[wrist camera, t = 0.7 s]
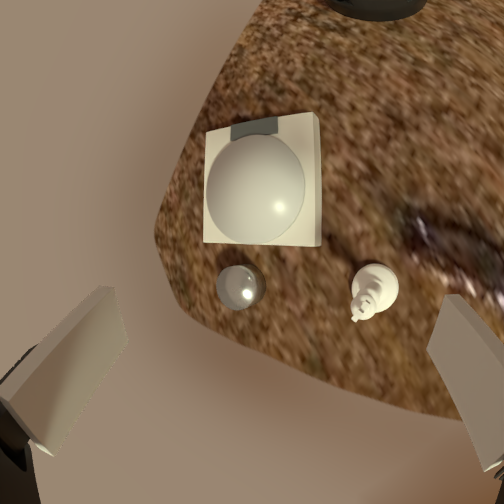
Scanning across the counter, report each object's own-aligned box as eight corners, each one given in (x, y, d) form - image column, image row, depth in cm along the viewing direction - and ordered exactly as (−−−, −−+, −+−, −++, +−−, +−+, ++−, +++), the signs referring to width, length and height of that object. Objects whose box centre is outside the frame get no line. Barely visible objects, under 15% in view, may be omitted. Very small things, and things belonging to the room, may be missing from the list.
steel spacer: (231, 262, 36) (216, 264, 33) (266, 265, 33) (253, 268, 31) (231, 301, 36) (216, 306, 33) (266, 307, 33) (253, 313, 31)
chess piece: (342, 292, 29) (312, 318, 20) (370, 253, 27) (351, 263, 18) (378, 320, 27) (363, 360, 18) (407, 282, 25) (408, 307, 16)
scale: (216, 136, 36) (202, 130, 33) (319, 119, 28) (309, 108, 26) (214, 241, 37) (199, 242, 34) (321, 245, 29) (312, 246, 27)
